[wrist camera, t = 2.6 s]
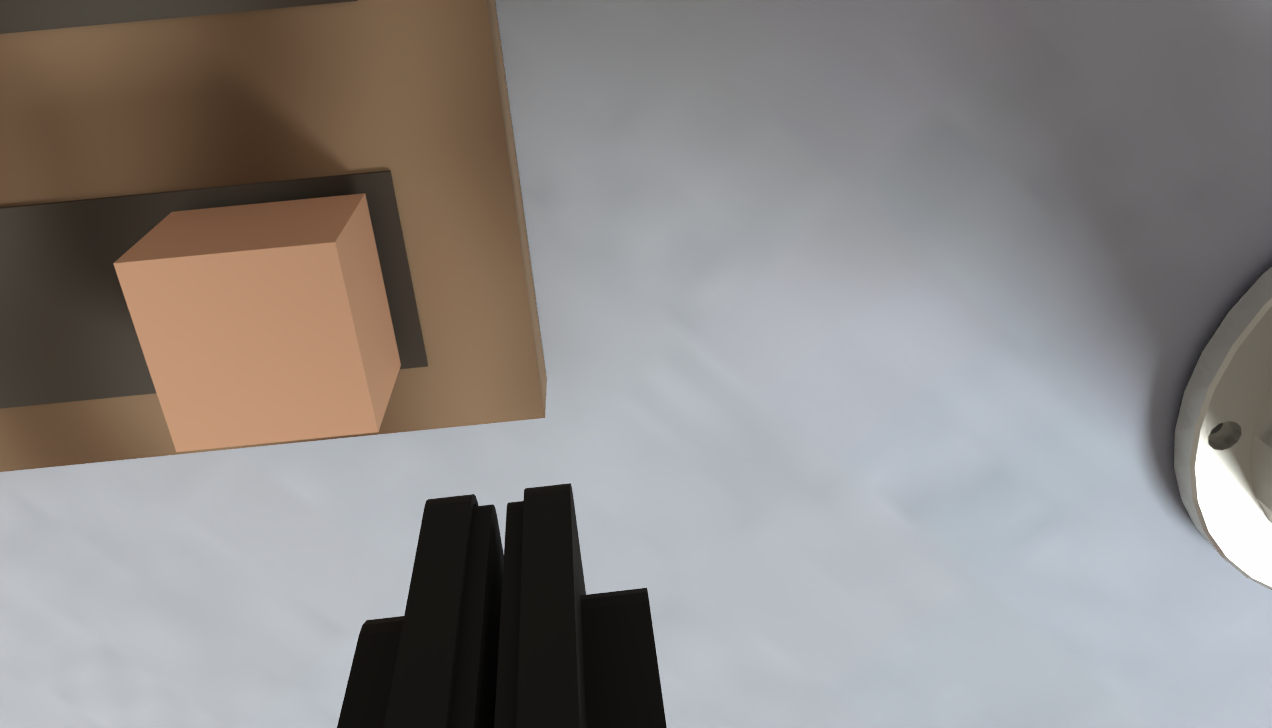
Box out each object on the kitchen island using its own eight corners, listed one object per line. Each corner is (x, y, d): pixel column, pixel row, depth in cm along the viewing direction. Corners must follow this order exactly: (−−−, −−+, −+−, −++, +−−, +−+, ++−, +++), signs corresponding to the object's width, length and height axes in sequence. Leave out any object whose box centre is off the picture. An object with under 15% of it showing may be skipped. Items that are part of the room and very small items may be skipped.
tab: (365, 193, 21) (335, 241, 18) (401, 364, 23) (378, 432, 20) (172, 211, 21) (113, 263, 18) (223, 382, 23) (176, 452, 20)
